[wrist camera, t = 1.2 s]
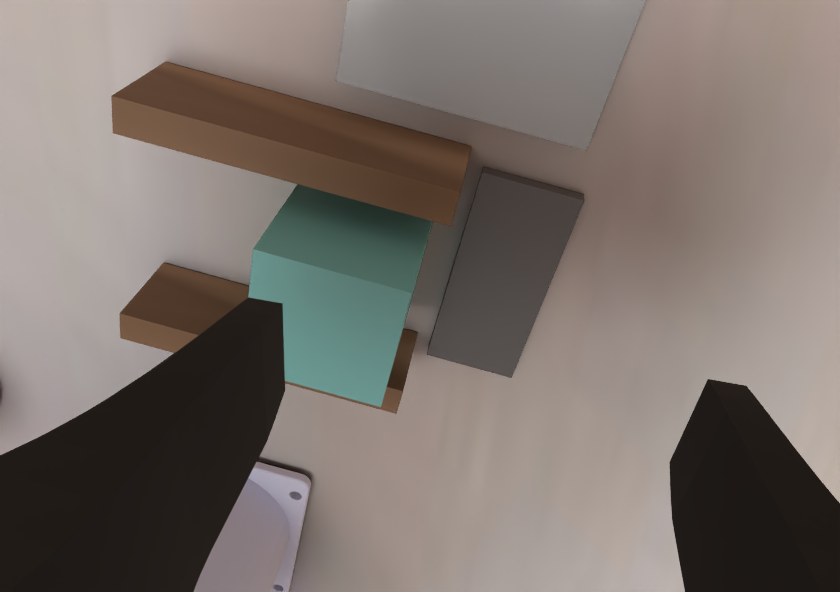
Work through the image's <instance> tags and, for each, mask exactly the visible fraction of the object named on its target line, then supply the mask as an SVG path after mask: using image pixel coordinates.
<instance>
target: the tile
mask: <svg viewBox="0 0 840 592" xmlns="http://www.w3.org/2000/svg"><path fill="white" fill-rule="evenodd" d="M645 1H646V0H348V5H347V12H346V18H345V25H344V31H343V37H342V44H341V50H340V57H339V63H338V70H337V76H336V82H340V83H343V84H347V85H351V86H354V87H358V88H362V89H365V90H369V91H372V92H376V93H380V94H383V95H387V96H390V97H394V98H398V99H401V100H405V101H408V102H412V103H416V104H419V105H423V106H427V107H430V108H434V109H437V110H441V111H445V112H448V113H452V114H455V115H459V116H463V117H466V118H470V119H473V120H477V121H481V122H484V123H488V124H492V125H495V126H499V127H502V128H506V129H510V130H513V131H517V132H520V133H524V134H528V135H531V136H535V137H539V138H542V139H546V140H549V141H553V142H557V143H560V144H564V145H567V146H571V147H575V148H578V149H582V150H585V151H587V148H588V146H589V143H590V141H591V138H592V136H593V133H594V131H595V128H596V125H597V123H598V120H599V118H600V115H601V113H602V110H603V108H604V105H605V103H606V100H607V98H608V95H609V92H610V90H611V87H612V85H613V82H614V80H615V77H616V75H617V72H618V70H619V67H620V65H621V62H622V60H623V57H624V54H625V52H626V49H627V47H628V44H629V42H630V39H631V37H632V34H633V32H634V29H635V27H636V24H637V22H638V19H639V16H640V14H641V11H642V9H643V6H644V4H645Z"/></svg>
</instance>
